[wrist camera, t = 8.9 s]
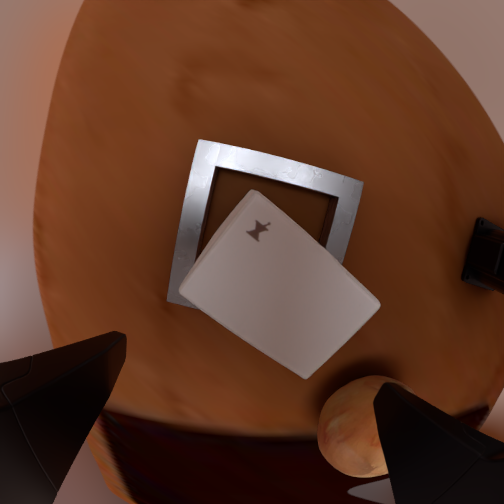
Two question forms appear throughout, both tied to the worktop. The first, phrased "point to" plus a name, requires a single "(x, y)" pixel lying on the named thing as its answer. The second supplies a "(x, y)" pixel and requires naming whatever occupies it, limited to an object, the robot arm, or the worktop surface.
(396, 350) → the worktop surface
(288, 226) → the skincare box
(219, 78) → the worktop surface
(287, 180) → the silver metal square frame
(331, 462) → the onion
